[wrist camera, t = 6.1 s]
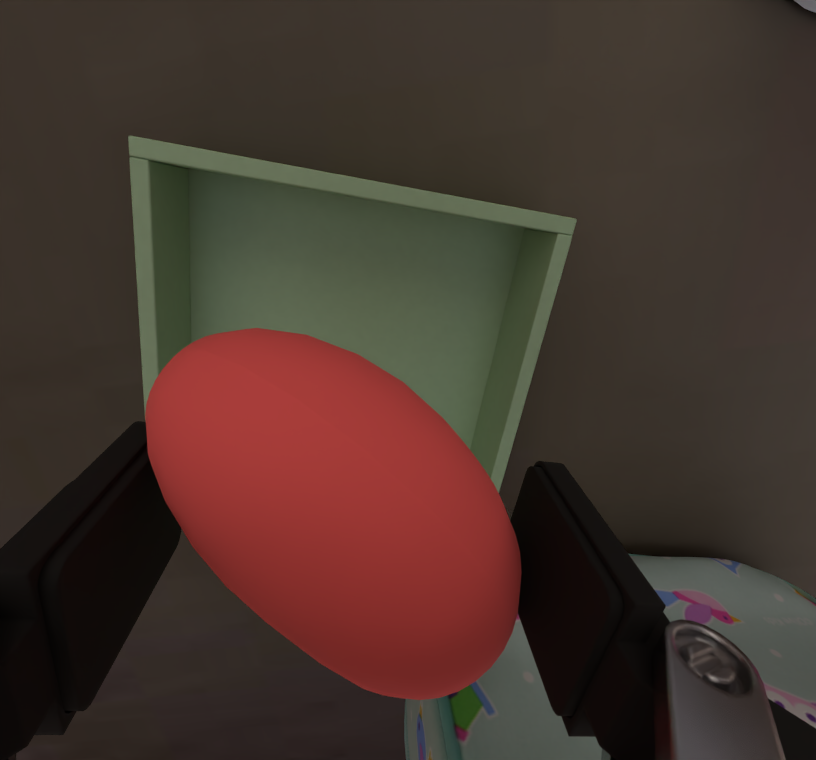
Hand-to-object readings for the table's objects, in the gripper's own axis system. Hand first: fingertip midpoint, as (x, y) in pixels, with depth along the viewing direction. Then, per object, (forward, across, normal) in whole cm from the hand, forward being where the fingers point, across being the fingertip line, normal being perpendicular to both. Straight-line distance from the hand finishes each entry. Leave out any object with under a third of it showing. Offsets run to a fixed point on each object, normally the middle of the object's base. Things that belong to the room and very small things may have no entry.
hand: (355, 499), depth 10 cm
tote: (+12, +1, +1) cm, 12 cm away
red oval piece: (+1, 0, 0) cm, 1 cm away
